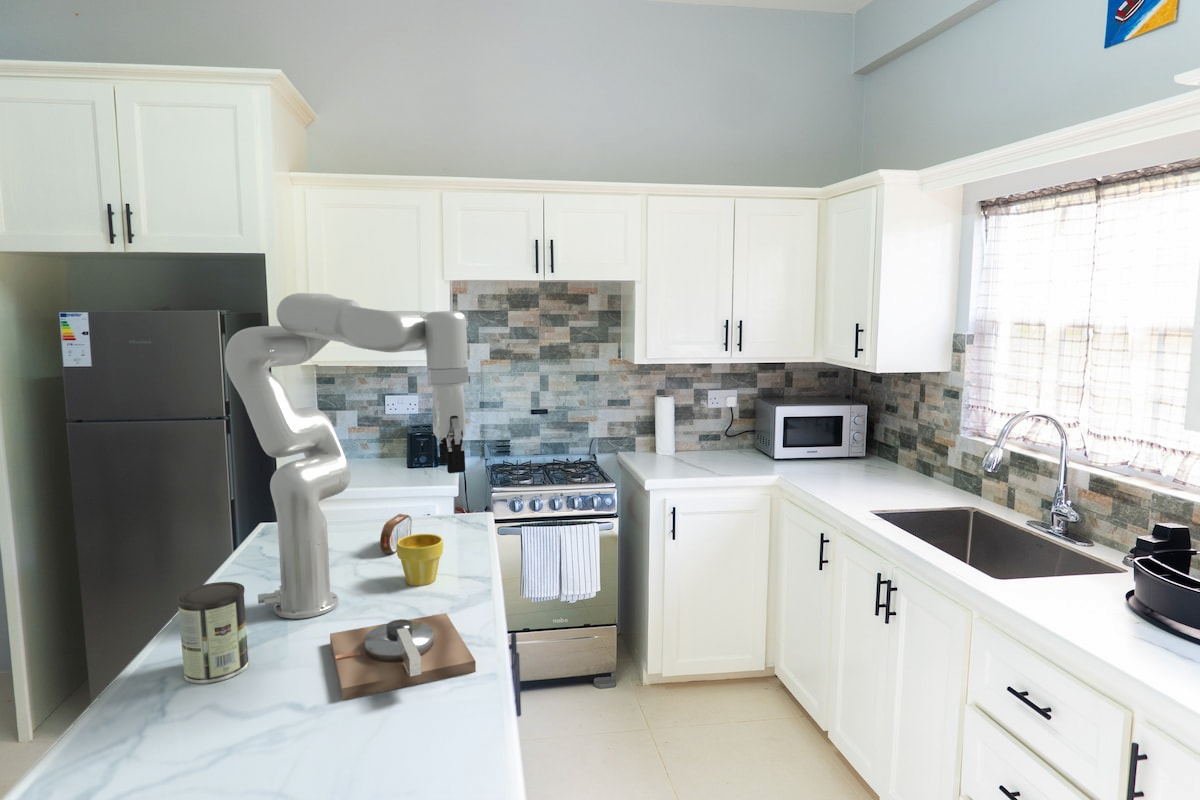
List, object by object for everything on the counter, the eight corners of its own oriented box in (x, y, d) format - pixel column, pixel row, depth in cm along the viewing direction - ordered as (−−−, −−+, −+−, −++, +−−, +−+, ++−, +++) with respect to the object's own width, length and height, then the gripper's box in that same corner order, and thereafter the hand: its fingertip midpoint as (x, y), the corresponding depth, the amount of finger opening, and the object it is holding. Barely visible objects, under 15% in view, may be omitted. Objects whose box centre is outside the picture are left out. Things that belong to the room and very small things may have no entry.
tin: (403, 539, 199) (402, 509, 198) (414, 539, 199) (413, 510, 198) (379, 557, 184) (378, 525, 183) (391, 558, 184) (390, 526, 183)
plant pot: (426, 592, 162) (425, 549, 161) (388, 585, 166) (387, 544, 164) (452, 576, 171) (451, 536, 170) (416, 570, 175) (414, 531, 174)
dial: (361, 638, 134) (360, 615, 134) (426, 626, 139) (425, 604, 139) (377, 692, 115) (376, 665, 115) (452, 676, 120) (451, 650, 120)
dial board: (342, 700, 117) (342, 686, 117) (330, 643, 137) (329, 631, 136) (475, 671, 126) (475, 659, 126) (446, 622, 146) (445, 611, 146)
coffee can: (217, 651, 133) (213, 578, 132) (262, 660, 130) (257, 585, 128) (168, 678, 124) (162, 599, 122) (214, 688, 120) (209, 607, 119)
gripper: (422, 375, 142) (426, 461, 144) (433, 382, 126) (438, 478, 128) (460, 373, 145) (464, 457, 147) (476, 380, 129) (480, 474, 131)
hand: (452, 467), depth 137 cm, fingers open, 9 cm apart
